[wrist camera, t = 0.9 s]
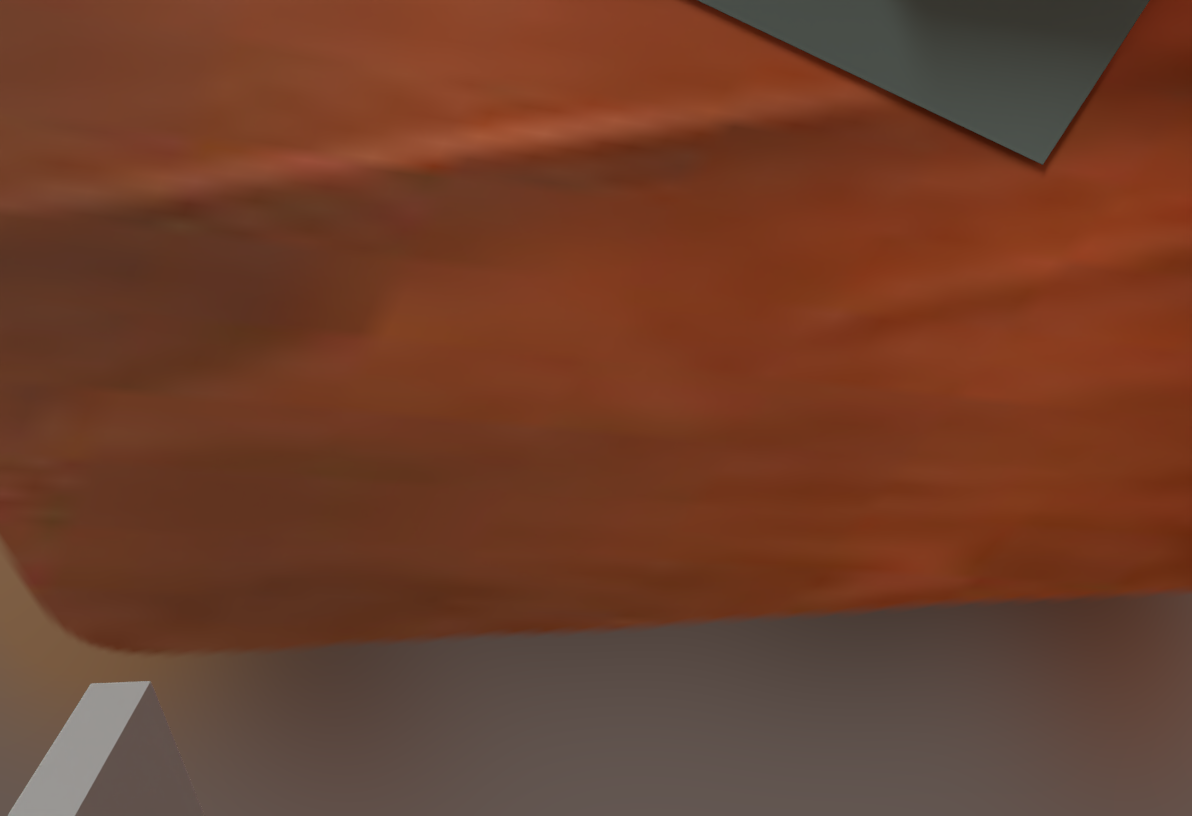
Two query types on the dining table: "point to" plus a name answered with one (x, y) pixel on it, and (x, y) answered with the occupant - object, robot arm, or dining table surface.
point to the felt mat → (963, 54)
